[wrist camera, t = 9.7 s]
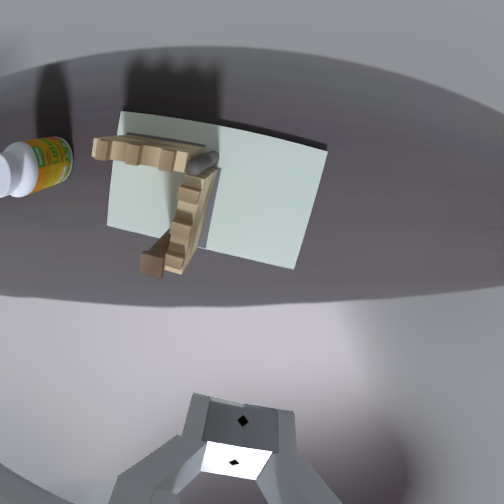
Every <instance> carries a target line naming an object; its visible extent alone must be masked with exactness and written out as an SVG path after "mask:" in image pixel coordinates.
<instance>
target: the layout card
mask: <svg viewBox="0 0 504 504" xmlns="http://www.w3.org/2000/svg"><path fill="white" fill-rule="evenodd" d="M118 135H133V136H140V137H146V138H153V139H159V140H165V141H171V142H177V143H183V144H188V145H194V146H199V147H204V148H205V150H204V154H205V153H208V152H210V151H216V152H217V153H218V154H219V161H218V162H217V163H215V164H214V165H212V166H211V168H215V169H217V173H216V176H215V180H214V184H213V187H212V191H211V195H210V198H209V202H208V206H207V210H206V214H205V217H204V221H203V225H202V229H201V233H200V237H199V241H198V245H197V247H199V248H203V249H208V250H212V251H216V252H221V253H225V254H229V255H233V256H238V257H242V258H246V259H251V260H255V261H259V262H264V263H268V264H272V265H277V266H281V267H285V268H290V269H294V267H295V264H296V261H297V257H298V254H299V251H300V248H301V244H302V241H303V238H304V234H305V231H306V227H307V224H308V221H309V217H310V214H311V210H312V207H313V203H314V200H315V196H316V193H317V189H318V186H319V182H320V179H321V175H322V171H323V168H324V164H325V160H326V157H327V153H328V152H327V151H324V150H320V149H317V148H313V147H309V146H306V145H302V144H298V143H294V142H290V141H287V140H283V139H279V138H274V137H270V136H266V135H262V134H257V133H253V132H248V131H244V130H239V129H234V128H229V127H224V126H219V125H214V124H208V123H203V122H197V121H191V120H185V119H179V118H172V117H165V116H158V115H151V114H143V113H134V112H125V111H121V115H120V120H119V126H118V132H117V136H118ZM186 173H188V171H186V172H184V173H183V172H178V171H172V172H167V171H161V170H158V168H157V167H151V166H146V165H138V166H134V165H128V164H125V162H122V161H116V160H113V167H112V176H111V185H110V195H109V206H108V219H107V226H111V227H115V228H119V229H123V230H128V231H132V232H136V233H140V234H144V235H149V236H153V237H157V238H161V237H162V236H163V234H164V233H165V232H166V231H167V230H168V229H169V228H170V227H171V222H172V220H173V219H174V218H175V214H176V210H177V205H178V201H179V200H176V199H177V195H178V191H179V187H180V186H181V185H182V184H183V180H184V176H185V174H186Z"/></svg>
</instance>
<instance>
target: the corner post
mask: <svg viewBox="0 0 504 504" xmlns="http://www.w3.org/2000/svg"><path fill="white" fill-rule="evenodd" d="M169 231H170V228H169V229H168V230H167V231H166V232H165V233H164V234H163V236H162V237H161V238H160V239H159V240H158V241H157V242H156V243H155V244H154V245H153V246H152V247H151V248H150V250H149V251H145V250H144V251H143V252H142V253H141V262H140V274H142V275H146V276H149V277H153V278H157V279H161V278H162V277H163V273H164V268H165V265H164V264H165V253H166V252H167V250H168V247H169V242H170V238H171V234H169Z"/></svg>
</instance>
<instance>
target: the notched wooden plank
mask: <svg viewBox="0 0 504 504" xmlns="http://www.w3.org/2000/svg"><path fill="white" fill-rule="evenodd" d="M216 173H217V169H215V168H211V167H209V168H207V169H206V170H204V171H203V172H201V173H200V174H198V175H191V174H189V173H186V174H185V176H184V180H183V184H182V185H181V186H180V187H179V191H178V195H177V199H176V200H179V201H178V205H177V210H176V214H175V218H174V219H173V220H172V222H171V227H170V231H169V234H171V238H170V242H169V247H168V250H167V252H166V253H165V264H164V265H165V268H164V269H165V270H168V271H171V272H174V273H178V274H181V275H182V273H183V271H184V269H185V268H186V266H187V264H188V262H189V261H190V259H191V257H192V255H193V254H194V252H195V250H196V249H197V245H198V241H199V237H200V233H201V229H202V225H203V221H204V217H205V214H206V210H207V206H208V202H209V198H210V195H211V191H212V187H213V184H214V180H215V176H216Z"/></svg>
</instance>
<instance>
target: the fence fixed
mask: <svg viewBox="0 0 504 504" xmlns="http://www.w3.org/2000/svg"><path fill="white" fill-rule="evenodd" d="M204 150H205V148H204V147H199V146H194V145H188V144H183V143H177V142H171V141H165V140H159V139H153V138H146V137H140V136H133V135H118V136H109V137H100V138H94V142H93V150H92V157H95V159H98V160H104V161H106V160H116V161H122V162H125V164H128V165H134V166H138V165H146V166H151V167H157V168H158V170H161V171H167V172H172V171H178V172H183V173H184V172H186V171H188V173H189V174H191V175H198V174H200V173H201V172H203V171H204V170H206V169H207V168H209V167H211V166H212V165H214V164H215V163H217V162H218V161H219V154H218V153H217V152H216V151H210V152H208V153H205V154H204Z"/></svg>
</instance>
